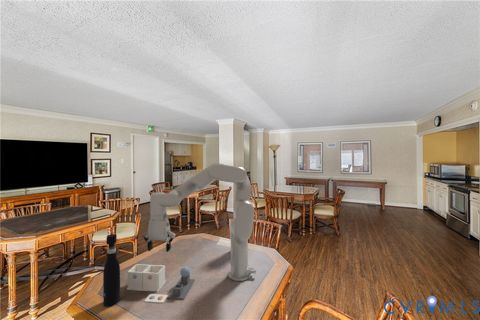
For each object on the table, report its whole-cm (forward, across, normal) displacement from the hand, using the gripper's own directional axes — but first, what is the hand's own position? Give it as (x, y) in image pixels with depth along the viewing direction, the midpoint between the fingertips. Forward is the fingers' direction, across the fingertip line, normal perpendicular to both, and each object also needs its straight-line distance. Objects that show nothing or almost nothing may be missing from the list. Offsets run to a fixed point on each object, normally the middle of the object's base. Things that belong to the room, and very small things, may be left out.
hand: (159, 250), depth 104 cm
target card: (+18, -3, +10) cm, 21 cm away
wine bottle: (+18, +16, +14) cm, 27 cm away
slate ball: (+14, -12, -3) cm, 19 cm away
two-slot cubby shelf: (+18, +7, +1) cm, 19 cm away
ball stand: (+18, -12, +2) cm, 22 cm away
